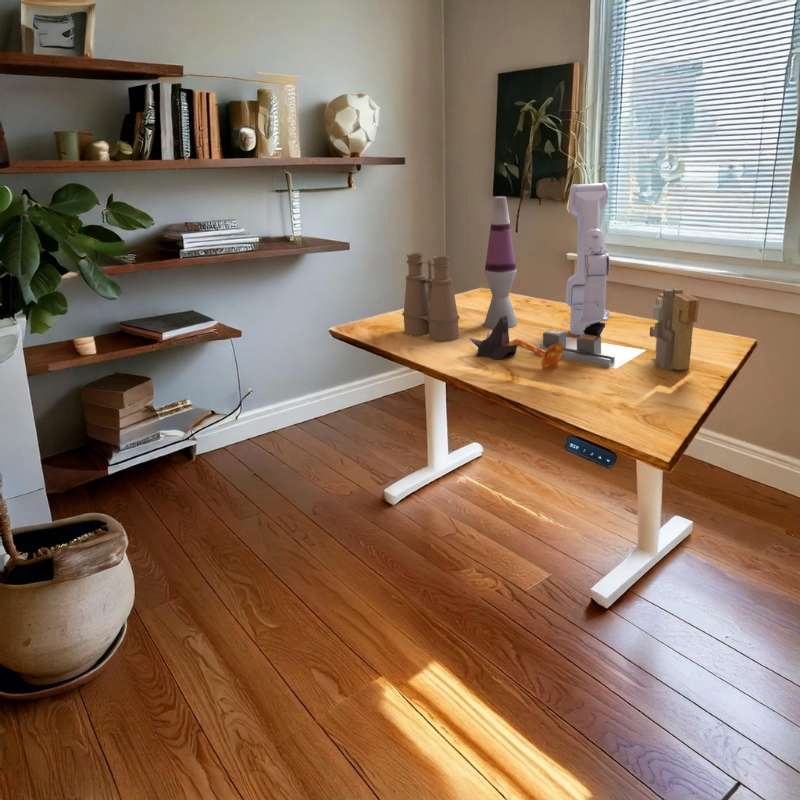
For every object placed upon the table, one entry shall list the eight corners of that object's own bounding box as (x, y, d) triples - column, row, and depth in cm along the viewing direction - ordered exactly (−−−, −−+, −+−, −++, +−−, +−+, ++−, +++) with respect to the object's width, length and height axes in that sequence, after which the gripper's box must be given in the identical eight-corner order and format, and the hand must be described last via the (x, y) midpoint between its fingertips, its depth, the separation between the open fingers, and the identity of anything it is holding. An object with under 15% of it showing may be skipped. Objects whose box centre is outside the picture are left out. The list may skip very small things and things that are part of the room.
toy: (669, 358, 184) (676, 284, 177) (697, 379, 168) (706, 299, 161) (645, 359, 184) (651, 285, 176) (671, 381, 168) (679, 301, 161)
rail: (540, 350, 192) (540, 343, 192) (614, 364, 178) (614, 356, 178) (534, 353, 190) (535, 346, 190) (609, 367, 176) (609, 359, 176)
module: (584, 350, 189) (583, 332, 186) (601, 353, 186) (601, 335, 183) (577, 355, 186) (576, 338, 184) (594, 359, 183) (593, 341, 181)
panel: (561, 339, 204) (561, 335, 204) (646, 354, 188) (646, 350, 187) (528, 356, 192) (528, 351, 192) (616, 373, 176) (616, 368, 175)
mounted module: (550, 346, 195) (550, 328, 193) (565, 349, 192) (566, 331, 190) (542, 350, 192) (543, 332, 190) (558, 353, 189) (559, 335, 187)
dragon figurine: (543, 347, 172) (471, 310, 187) (534, 388, 178) (464, 350, 193) (568, 337, 178) (496, 302, 193) (558, 378, 185) (489, 341, 200)
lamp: (478, 322, 227) (476, 197, 212) (508, 318, 230) (508, 194, 215) (492, 330, 217) (491, 199, 203) (523, 326, 220) (524, 196, 205)
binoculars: (466, 336, 213) (464, 255, 204) (445, 344, 207) (442, 261, 198) (417, 326, 227) (414, 250, 218) (396, 333, 221) (392, 255, 211)
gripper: (595, 308, 175) (592, 358, 180) (620, 296, 184) (617, 344, 189) (570, 304, 179) (568, 354, 184) (596, 293, 189) (594, 340, 194)
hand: (591, 349), depth 187 cm, fingers closed, pressing on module
